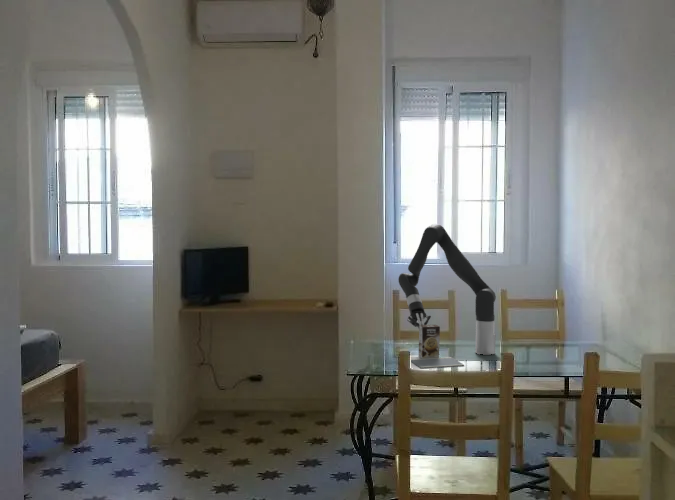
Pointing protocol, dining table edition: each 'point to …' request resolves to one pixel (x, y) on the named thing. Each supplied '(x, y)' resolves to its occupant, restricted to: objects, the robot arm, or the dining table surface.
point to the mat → (436, 362)
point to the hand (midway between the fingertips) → (423, 332)
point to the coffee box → (429, 341)
